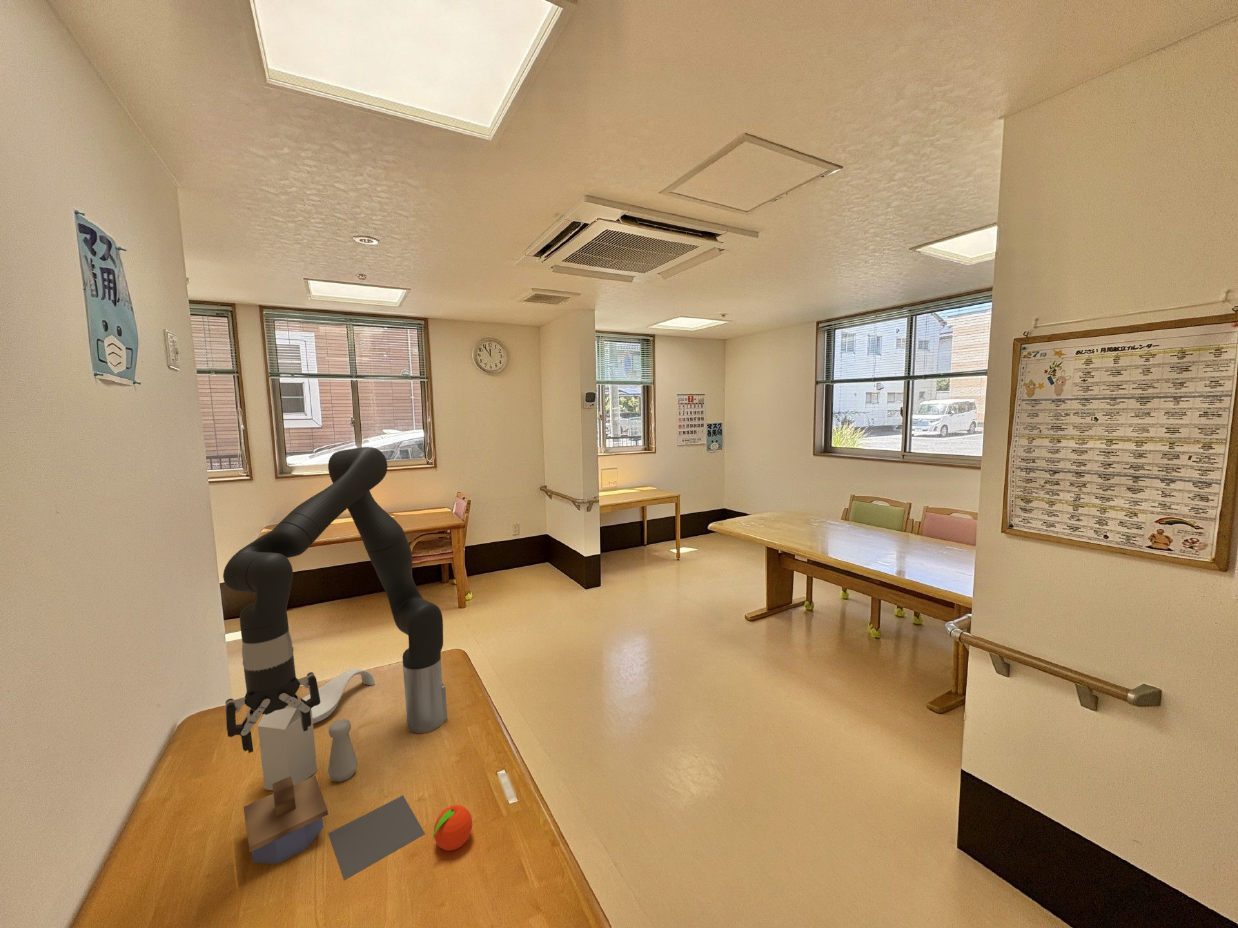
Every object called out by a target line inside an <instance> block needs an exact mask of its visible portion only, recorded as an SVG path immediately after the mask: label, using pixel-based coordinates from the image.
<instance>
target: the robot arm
mask: <svg viewBox="0 0 1238 928" xmlns="http://www.w3.org/2000/svg"><path fill="white" fill-rule="evenodd" d="M327 465H328V466H327V467H328V468H327V469H328V474H329V477H330V480H331V482H332V484H330V485H329V486H327V487H326V488H324V489H323V490H321V491H320V492H318V493H316V494H314V495H312V496H310V498H308V499H306V500H304V501H303V502H302V503H300V504H299V505H297V506H296V507H295V508H294V509H292V510H291V511H290V512H289V513H288V514H287V515H286V516H285V517H284V518H283V519H281V521H280V522H279V523H277V525H276V526H275V527H274V528H272V529H271V530H270V531H269V532H267V533H264V534H263V535H261V536H259V537H258V538H256V539H255V540H253V541H252V542H250V543H249V544H246V545H245V546H243V548H241V549H239V550H238V551H237V552H235V554H233V556H231V558H230V559H229V560H228V561H227V563H226V565H225V567H224V570H223V575H222V578H223V583H224V584H225V585H226V586H227V587H228V588H230V589H231V590H234V591H238V592H248V593H249V592H250V593H255V594H256V598H255V602H252V603H251V604H250V603H249V604H248V605H246V606H245V607H243V609H241V610H240V613H239V626H240V628H239V629H240V634H241V635H240V636H241V642H242V644H241V657H242V667H243V672H244V673H243V674H244V682H245V689H246V693H245V696H243V697H240V698H236V699H233V698H227V700H226V701H225V716H226V717H225V718H226V719H225V722H226V732H227V737H228V738H233V737H234V736H240V738H241V745H242V750H243V751H244V752H248V754H251V753H254V746H253V738H252V732H251V730H252V728H253V727H254V725H255V724H257V722H258V721H259V719H260V718H261V716H262V715H264V714H265V715H267V714H270V713H272V712H274V711H276V710H281V709H284V708H286V706H287V705H291V706H293V707H294V708H297V709H299V710H300V714H301V723H302V729H303V731H307V730H308V727H309V726H311V715H310V710H311V708H312V707H314V706H317V705H319V704H320V696H319V691H318V689H319V687H318V686H319V685H318V682H317V681H318V680H317V678H316V675H315V673H314V672H312V671H309V672H308V673H307V674H306V675H305V676H304V677H301V678H299V679H298V678H297V675H296V666H295V665H296V664H295V658H294V646H293V641H292V636H291V633H290V628H289V617H288V612H287V610H288V609H287V608H288V603H289V599H290V594H291V589H292V585H293V584H292V583H293V579H294V570H293V566H292V563H291V561H290V560H289V558H295V557H298V556H300V555H302V554H303V553H305V552H306V551H307V550H308V549H309V548H310V547H311V546H312V544H313V543H314V542H315V541H316V540H317V539H318V538H319V537H320V535H322V534H323V532H325V530H326V529H327V528H328V527H329V526H330V525H331V524H332V523H333V522H334V521H335V520H336V519H337V518H338V517H340V516H341V515H342V514H343V513H345V511H346V510H348V512H349V514H350V517H351V519H352V521H353V522H354V525H355V527H356V529H357V531H358V533H359V536H360V538H361V540H362V543H363V546H364V548H365V550H366V554H367V555H368V558H369V560H370V561H371V564H372V566H373V568H374V570H375V572H376V575H377V577H378V579H379V582H380V584H381V586H382V587H383V589H384V591H385V594H386V597H387V601H388V604H389V607H390V610H391V614H392V618H393V621H394V623H395V626H396V628H398V629H399V631H400V632H402V633H403V634H405V635H407V636H408V648H407V649H405V650H404V652H403V653H402V671H403V673H402V674H403V683H404V686H403V687H404V696H405V697H404V698H405V712H406V724H407V725H406V727H407V730H408V731H409V732H410V733H413V734H424V733H429V732H431V731H434V730H436V729H438V728H439V727H440V726H441V725H442V724H443V723H444V722H446V721H448V706H447V705H448V704H447V689H446V685H445V684H444V682H443V669H442V656H441V655H442V653H441V652H442V649H443V647H444V619H443V613H442V611H441V610H442V609H440V607H439V606H438V605H436V604H435V603H433V602H431V601H428V600H425V599H424V598H423V597H422V594H421V593H420V591H419V589H418V587H417V585H416V583H415V580H414V577H413V553H412V548H411V546H410V544H409V541H408V538H407V536H406V533H405V530H404V529H403V528H402V526H401V525H400V523H399V522H398V521H397V520H396V519H395V518H394V517H392V516H391V515H390V514H389V513H388V512H387V511H386V510H385V509H383V508H382V507H381V506H380V505H379V504H378V502H377V501H376V500H375V499H374V497H373V494H372V493H371V490H372V489H374V488H375V487H376V486H378V484H380V483H381V482H382V481H383V480H384V478H385V477H386V475H387V471H388V461H387V458H386V456H385V454H384V453H383V452H382V451H381V450H380V449H378V448H376V447H373V446H361V447H356V448H355V447H354V448H348V449H343V450H338V451H335V452H333V453H332V455H330V457H329V460H328V464H327ZM301 686H303V687H304V689H308V690H309V694H310V696H311V698H310V699H308V700H307V701H305V700H304V699H302V698H303V697H301V696H300V695H299V694H297V692H298V691H299V689H300V687H301ZM244 705H246V707H248V708H249V710H248V711H247V713H246V714H245V715H246V716H245V717H244V719H243V720H242V722H241V723H240V724H237V722H236V721H237V720H236V719H237V718H236V714H237V713H239V712H240V711H241V709H242V706H244Z"/></svg>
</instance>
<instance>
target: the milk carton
mask: <svg viewBox="0 0 1238 928" xmlns="http://www.w3.org/2000/svg"><path fill="white" fill-rule="evenodd" d="M310 715H311V726H309V727H308V730H307V731H303V729H302V723H301V714H300V710H299V709H297V708H294V707H293V706H291V705H287V706H286V708H284V709H281V710H276V711H274V712H272V713H270V714H267V715H265V714H263V716H262V718H261V719H260V721H259V723H258V725H257V732H258V740H259V750H260V759H261V768H262V770H261V771H262V777H263V787H264V790H267V791H271V792H273V786H272V784H273V783H275V782H278V781H280V780H283V779H285V778H287V777H290V776H291V778H292V781H293V785H295V784H297V783H299V782H302V781H304V780H306V779H309V778H311V777H312V775H314V774H315V773H316V772H317V771H318V761H317V752H316V743H315V732H314V730H315V729H314V724H313V718H312V710H310Z"/></svg>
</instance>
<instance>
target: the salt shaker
mask: <svg viewBox="0 0 1238 928" xmlns="http://www.w3.org/2000/svg"><path fill="white" fill-rule="evenodd" d="M351 730H352V724H351V722H350V720H348V719H346V718H342V719H338V720H336V721H333V723H331V724H330V726H329V727H328V735H329V737H330V738H332V741H331V748H330V755H329V760H328V761H329V762H328V770H327V773H328V776H329V778H330V780H331V781H332V782H333V783H337V782H338V783H341V782H344V781H347V780H348V779H351V778H352V777H353V775H354V774H355V773H356V770H357V767H358V760H357V759H358V758H357V756H356V752H355V749H354V746H353V742H352V738H351V736H350V732H351Z"/></svg>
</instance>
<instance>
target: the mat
mask: <svg viewBox="0 0 1238 928" xmlns="http://www.w3.org/2000/svg"><path fill="white" fill-rule="evenodd" d="M425 835H426V832H425V831H424V829H423V828H422V825H421V823H419V820H418V819H417V817H416V815H415V814H414V812H413V810H412V808H411V806H410V804H409V803H408V801H407V800H406V798H405V796H404V795H403V794H402V795H400V796H398V797H396V798H395V799H393V800H391V801H389V802H386V803H385V804H383V805H380V806H379V807H377V808H375V809H373V810H370V811H369V812H368V813H365V814H363V815H361V816H359V817H357V818H356V819H354V820H351V821H350V822H348V823H346V824H344V825H342V826H341V825H340V826H339V827H337V828H336V829H334V830H332V831H330V832H328V837H329V840H330V842H331V845H332V846H331V847H332V849H333V852H334V855H335V857H336V860H337V865H338V866H339V870H340V873H341V876H342V878H343V881H346V880H347V879H350V878H351V877H353V876H355V875H357V874H358V873H360V872H362V871H363V870H365V869H367V868H368V867H370V866H372V865H373V864H376V863H377V862H379V861H381V860H383V859H385V858H386V857H388V856H389V855H391V854H393V853H394V852H396V851H398V850H400V849H402V848H403V847H405V846H407V845H408V844H410V843H412V842H414V841H415V840H418V839H419V838H421V837H423V836H425Z"/></svg>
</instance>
